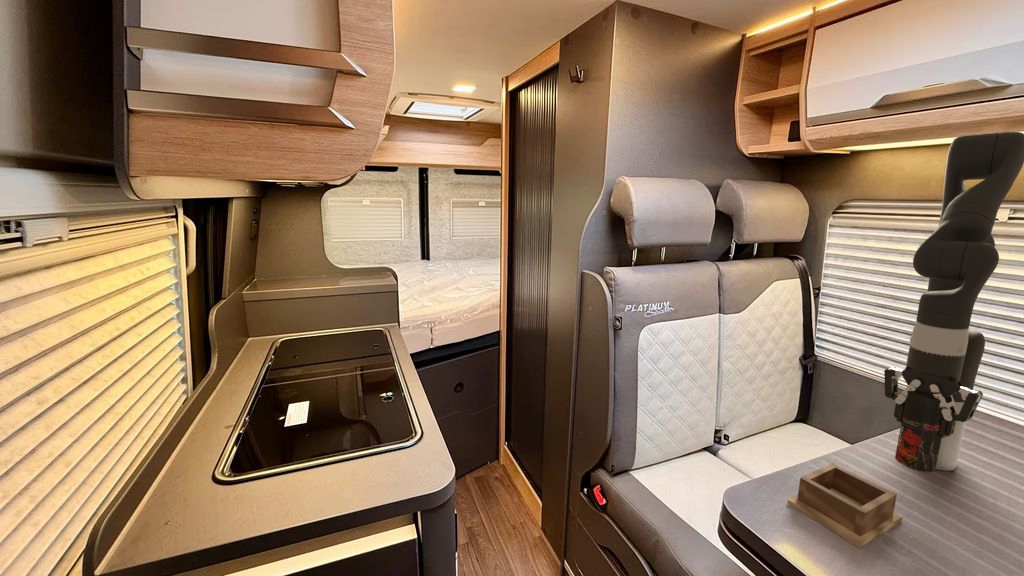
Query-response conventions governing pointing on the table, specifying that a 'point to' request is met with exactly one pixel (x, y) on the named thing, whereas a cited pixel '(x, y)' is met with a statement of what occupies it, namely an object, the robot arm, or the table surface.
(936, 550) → the table surface
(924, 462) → the deodorant
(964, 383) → the robot arm
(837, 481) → the holder
